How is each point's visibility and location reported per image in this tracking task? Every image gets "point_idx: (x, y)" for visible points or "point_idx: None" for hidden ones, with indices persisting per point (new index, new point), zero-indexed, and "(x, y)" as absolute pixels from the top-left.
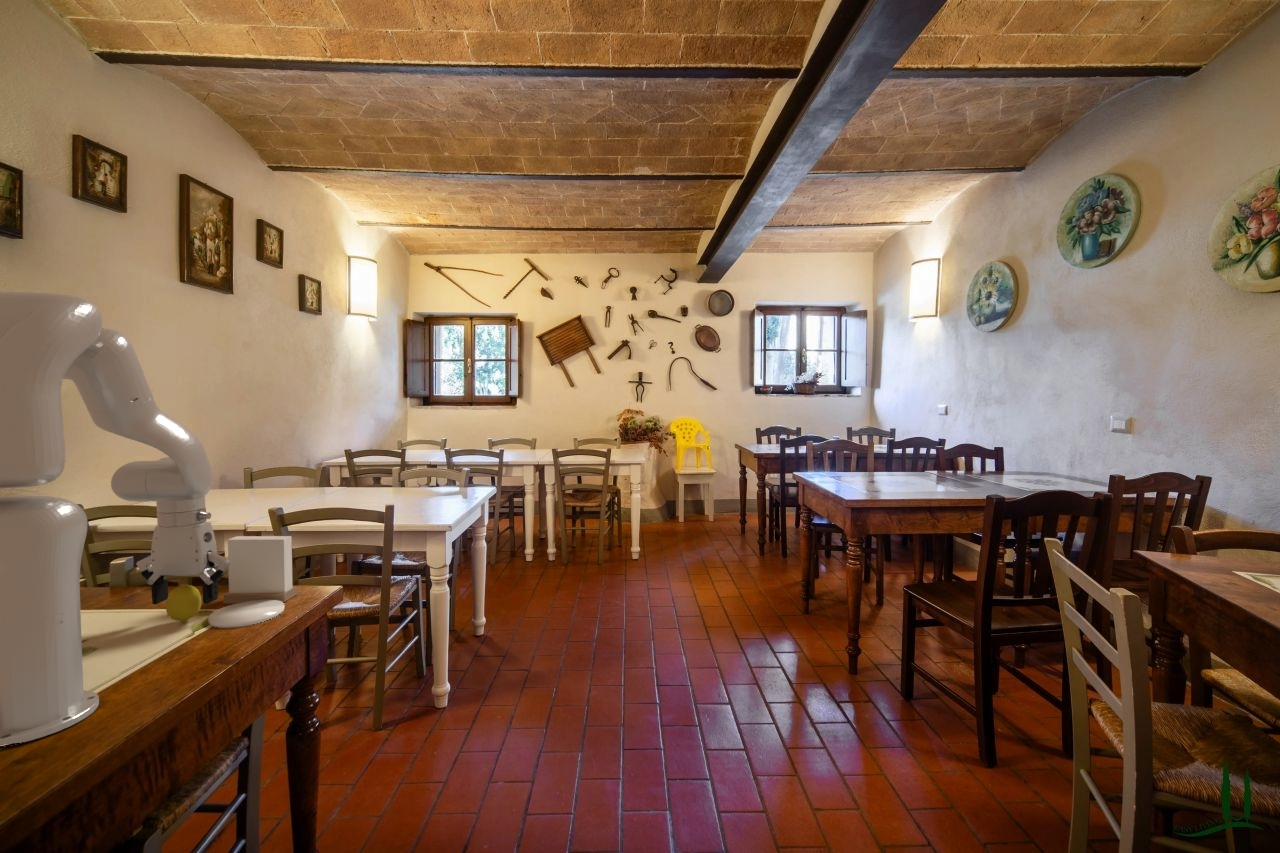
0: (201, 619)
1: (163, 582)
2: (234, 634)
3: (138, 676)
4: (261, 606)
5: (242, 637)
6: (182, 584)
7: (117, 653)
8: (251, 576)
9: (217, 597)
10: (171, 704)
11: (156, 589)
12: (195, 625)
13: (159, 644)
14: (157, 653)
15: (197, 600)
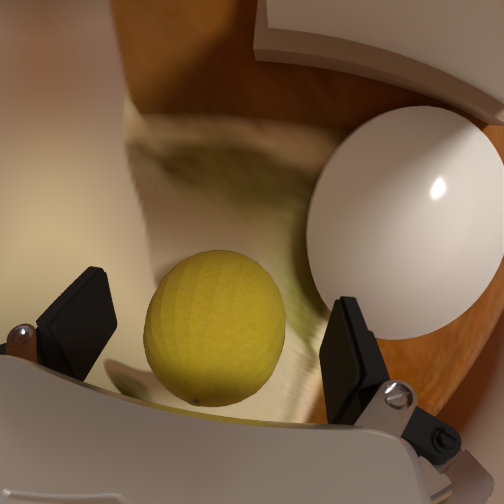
0: (271, 246)
1: (64, 350)
2: (414, 360)
3: None
4: (461, 199)
5: (430, 371)
6: (195, 405)
7: (205, 411)
8: (435, 27)
9: (354, 297)
10: None
11: (88, 369)
12: (283, 300)
13: (263, 394)
14: (288, 420)
15: (283, 344)
